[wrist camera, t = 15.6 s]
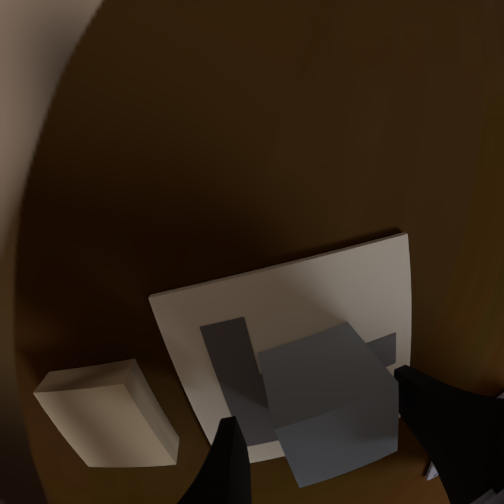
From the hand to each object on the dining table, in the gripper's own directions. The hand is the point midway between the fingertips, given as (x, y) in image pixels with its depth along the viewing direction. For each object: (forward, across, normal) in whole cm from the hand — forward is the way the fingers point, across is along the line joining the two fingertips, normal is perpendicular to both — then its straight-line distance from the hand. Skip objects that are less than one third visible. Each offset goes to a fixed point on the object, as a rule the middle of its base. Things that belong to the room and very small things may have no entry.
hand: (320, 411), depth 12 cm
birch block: (+3, +11, 0) cm, 11 cm away
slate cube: (+3, 0, 0) cm, 3 cm away
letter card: (+3, 0, 0) cm, 3 cm away
